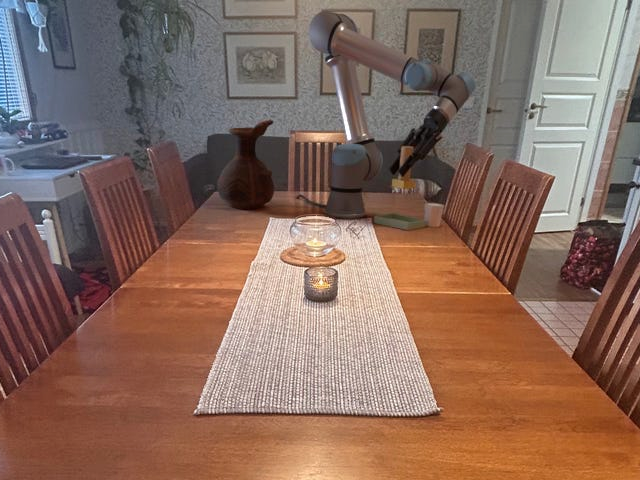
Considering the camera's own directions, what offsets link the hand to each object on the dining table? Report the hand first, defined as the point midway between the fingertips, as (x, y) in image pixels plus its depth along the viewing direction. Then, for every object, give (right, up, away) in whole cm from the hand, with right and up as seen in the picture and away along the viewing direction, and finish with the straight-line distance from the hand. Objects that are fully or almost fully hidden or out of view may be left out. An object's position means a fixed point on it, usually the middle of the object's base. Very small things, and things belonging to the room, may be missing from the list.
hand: (396, 172), depth 199 cm
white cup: (+15, -13, +13) cm, 23 cm away
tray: (+3, -13, +11) cm, 18 cm away
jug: (-53, +1, +31) cm, 62 cm away
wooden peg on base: (+3, -3, +4) cm, 6 cm away
